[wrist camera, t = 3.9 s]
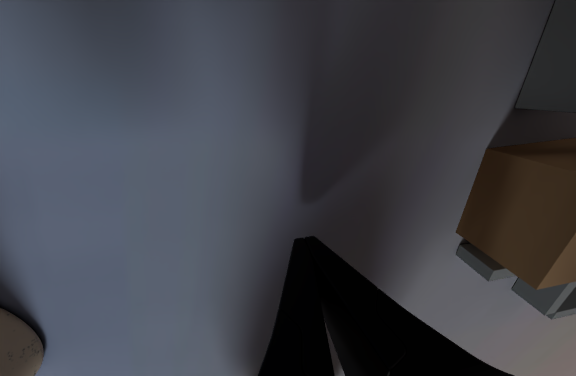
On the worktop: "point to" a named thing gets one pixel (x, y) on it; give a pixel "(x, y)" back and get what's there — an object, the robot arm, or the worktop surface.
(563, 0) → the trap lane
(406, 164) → the worktop surface
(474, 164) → the worktop surface
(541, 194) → the walnut block
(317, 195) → the worktop surface
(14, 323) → the teacup with lid
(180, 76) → the worktop surface
